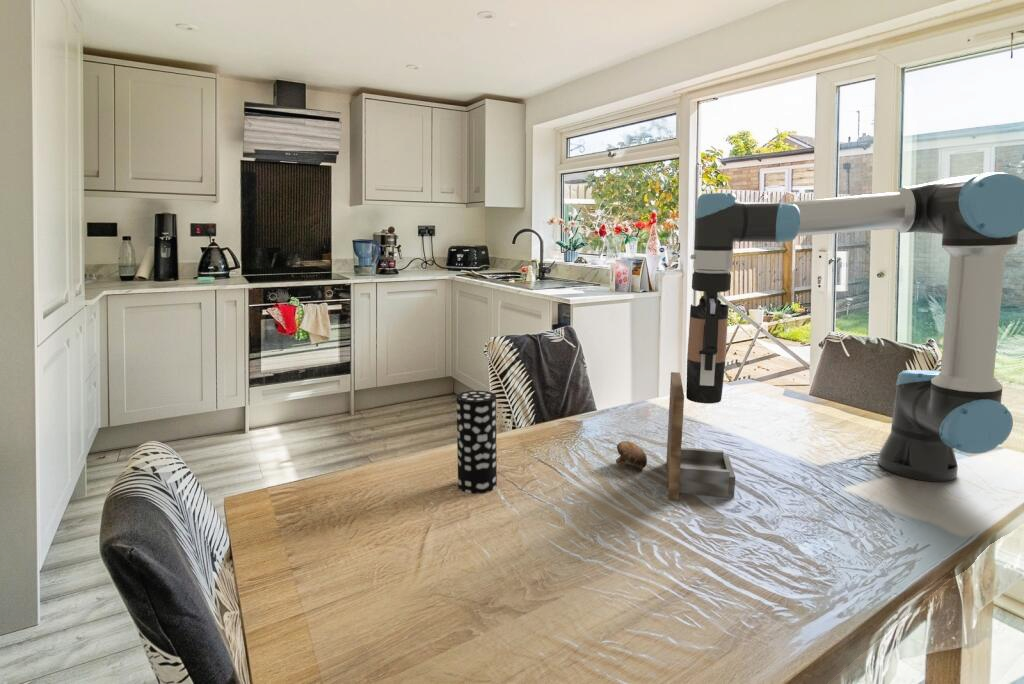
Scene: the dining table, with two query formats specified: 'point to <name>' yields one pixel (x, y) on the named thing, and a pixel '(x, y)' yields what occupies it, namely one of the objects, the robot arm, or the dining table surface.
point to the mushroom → (630, 455)
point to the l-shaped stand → (693, 457)
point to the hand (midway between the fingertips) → (705, 379)
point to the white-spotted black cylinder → (476, 441)
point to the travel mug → (695, 345)
